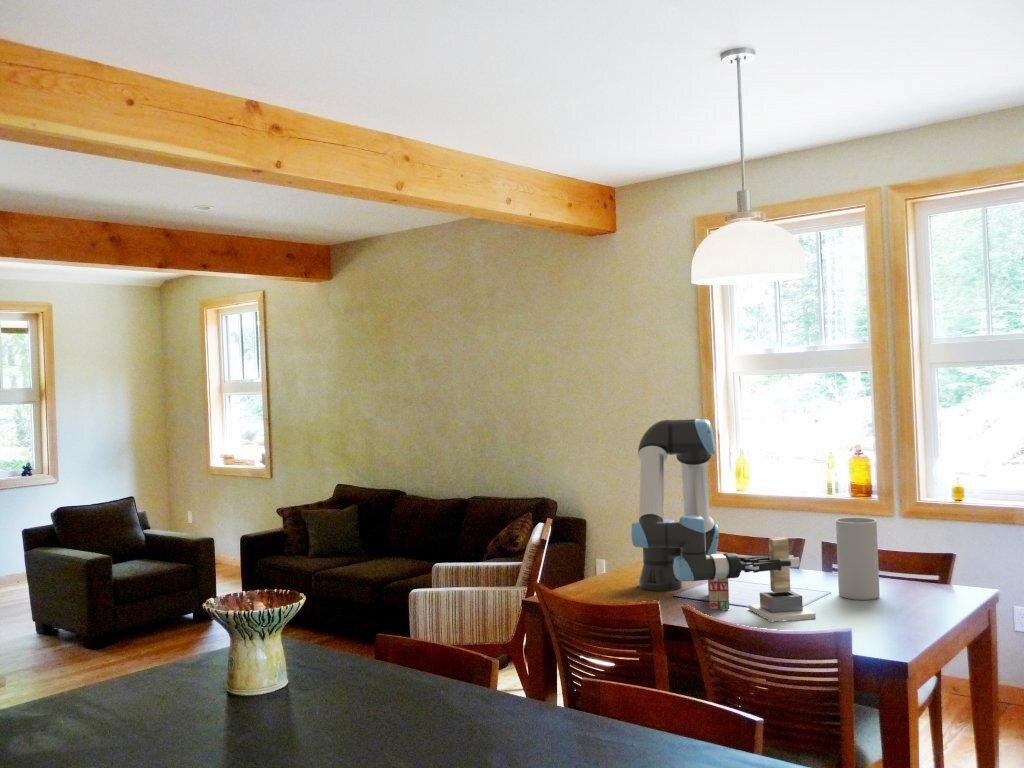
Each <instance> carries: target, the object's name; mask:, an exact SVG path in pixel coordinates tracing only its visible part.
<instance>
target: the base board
mask: <svg viewBox="0 0 1024 768" xmlns="http://www.w3.org/2000/svg"><path fill="white" fill-rule="evenodd" d="M749 609H750V610H749ZM748 610H749V611H751V612H752V611H753V613H754V612H755V613H754V614H756V613H757V614H756V615H758V614H759V615H758V616H760V615H761V616H760V617H762V616H763V617H762V618H764V617H765V618H766V619H765V618H764V619H765V620H767V619H768V621H769V620H770V621H769V622H771V621H780V622H784V621H783V620H792V621H799V620H798V619H803V620H811V619H812V618H815V619H816V618H817V615H816V614H817V613H816V612H814V611H812V610H809V609H807V608H805V607H803V611H794V612H783V613H770V612H768V611H767V610H765V609H763V608H761V607H760V603H753V604H748ZM812 620H813V619H812Z"/></svg>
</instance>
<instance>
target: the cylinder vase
mask: <svg viewBox="0 0 1024 768" xmlns="http://www.w3.org/2000/svg"><path fill="white" fill-rule="evenodd" d="M877 524H878V522H877V519H875V518H871V517H852V516H851V517H840V518H836V519H835V533H836V537H835V538H836V555H837V556H836V559H837V561H836V562H837V579H838V580H837V582H838V583H837V584H838V595H839V596H840V597H842V598H843V599H847V598H848V600H854V601H871V600H877V599H878V598H879V597H880V596H881V595H880V593H881V592H880V576H879V575H880V574H879V573H880V572H879V571H880V570H879V551H878V550H879V548H878V547H879V546H878V525H877Z"/></svg>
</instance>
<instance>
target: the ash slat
mask: <svg viewBox="0 0 1024 768" xmlns="http://www.w3.org/2000/svg"><path fill="white" fill-rule="evenodd" d="M789 546H790V545H789V538H787V537H773V538H768V550H769V553H768V557H769V559H770V560H779V559H783V558H789V556H790V548H789ZM790 568H791V567H789V568H782V569H781V571H779V570H771V571H769V581H770V592H788V591H791V575H790V574H791V571H790Z"/></svg>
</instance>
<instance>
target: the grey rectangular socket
mask: <svg viewBox="0 0 1024 768" xmlns="http://www.w3.org/2000/svg"><path fill="white" fill-rule="evenodd" d="M759 604H760V607H761V608H763V609H765V610H767V611H768V612H770V613H783V612H794V611H803V608H804V607H803V605H804V604H803V595H801V594H800V593H796V592H794V591H792V590H790V591H788V592H773V591H767V592H765V591H764V592H759Z"/></svg>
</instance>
